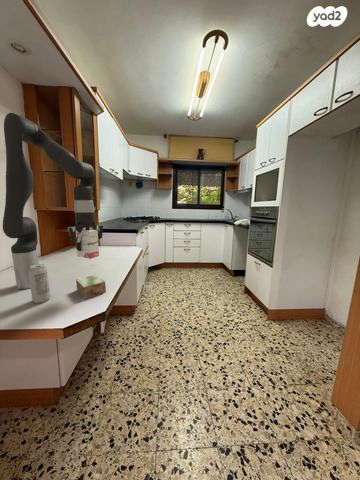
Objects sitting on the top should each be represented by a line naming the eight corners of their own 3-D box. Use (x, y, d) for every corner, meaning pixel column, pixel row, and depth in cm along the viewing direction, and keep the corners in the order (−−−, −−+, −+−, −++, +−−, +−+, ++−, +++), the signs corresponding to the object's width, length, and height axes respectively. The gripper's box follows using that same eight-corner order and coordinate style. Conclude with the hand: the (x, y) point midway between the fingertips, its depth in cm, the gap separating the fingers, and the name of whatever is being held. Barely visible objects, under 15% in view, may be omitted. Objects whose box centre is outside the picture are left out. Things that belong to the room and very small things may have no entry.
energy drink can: (46, 295, 82) (42, 262, 79) (53, 299, 79) (49, 265, 76) (29, 301, 77) (24, 266, 74) (37, 305, 74) (31, 269, 71)
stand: (85, 298, 79) (84, 287, 78) (77, 290, 87) (76, 279, 86) (106, 292, 85) (105, 281, 84) (96, 284, 93) (96, 274, 92)
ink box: (100, 256, 84) (98, 229, 82) (90, 259, 79) (88, 231, 77) (86, 253, 88) (84, 228, 85) (76, 256, 83) (74, 229, 81)
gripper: (68, 211, 72) (72, 253, 75) (105, 211, 82) (107, 248, 85) (63, 211, 78) (67, 250, 81) (98, 210, 87) (100, 245, 90)
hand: (87, 249), depth 83 cm, fingers closed on ink box, 6 cm apart
